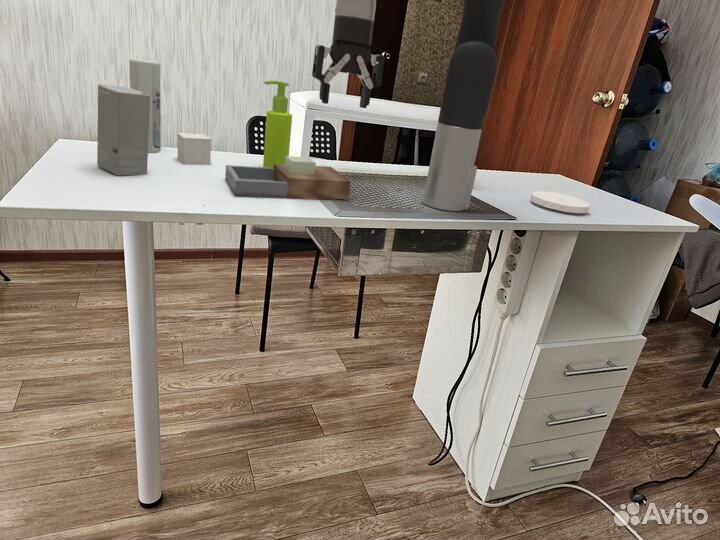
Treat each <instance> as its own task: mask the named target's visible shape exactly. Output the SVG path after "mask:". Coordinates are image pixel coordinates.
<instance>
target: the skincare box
mask: <svg viewBox="0 0 720 540" xmlns="http://www.w3.org/2000/svg"><path fill="white" fill-rule="evenodd" d="M149 111H150V95H148V94H145V93H143V92H141V91H138V90H134V89H132V88H130V86H129V87H128V86H127V87H126V86H119V85H110V84H103V83H101V84H98V83H97V148H96V149H97V152H96V153H97V159H96V160H97V161H96V164H97V166H98V168H100V169H103V170H105V171H107V172H109V173H111V174H114V175H115V176H122V177H123V176H140V175H142V176H143V175H147V174H148V162H149V161H148V159H149V157H148V156H149V153H148V136H149Z"/></svg>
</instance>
